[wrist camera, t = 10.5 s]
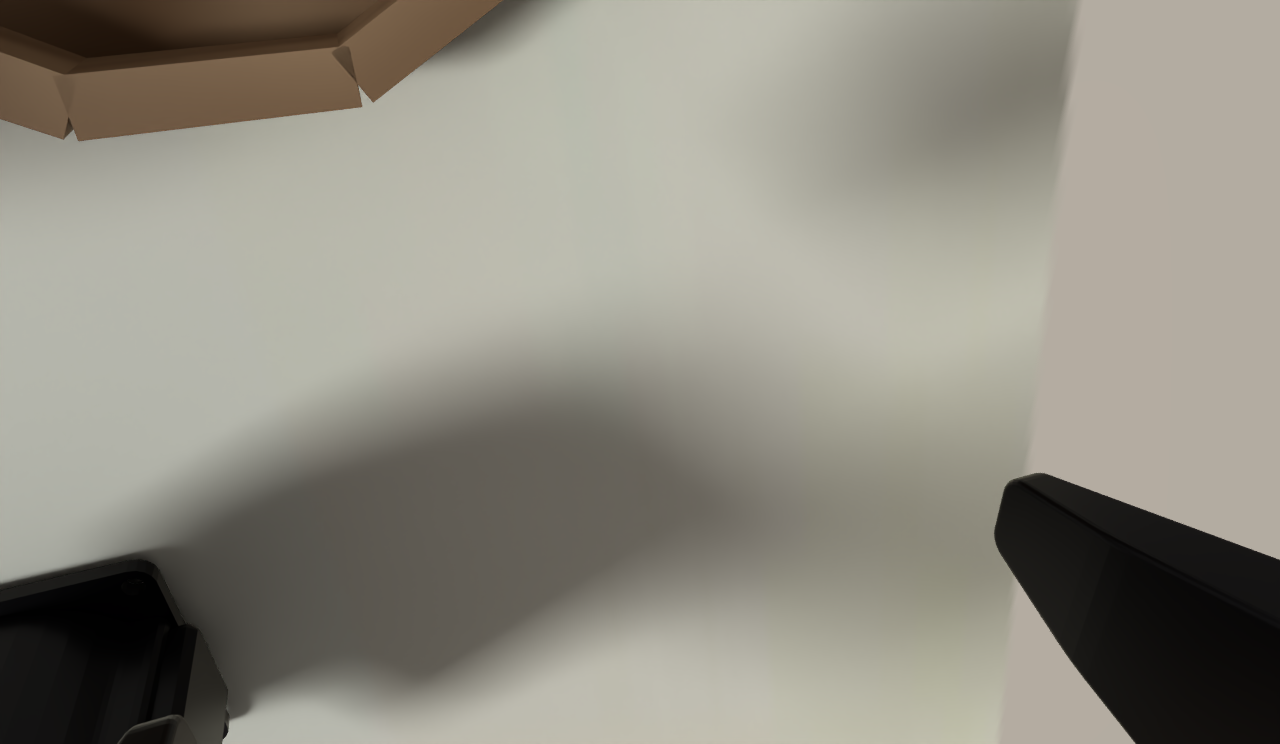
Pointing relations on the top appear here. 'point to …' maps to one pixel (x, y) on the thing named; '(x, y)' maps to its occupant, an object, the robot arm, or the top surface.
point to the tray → (208, 59)
